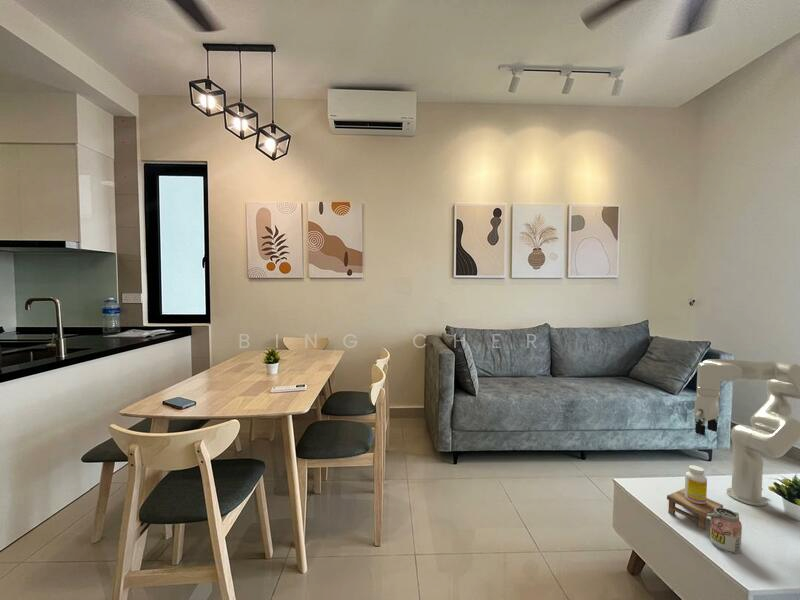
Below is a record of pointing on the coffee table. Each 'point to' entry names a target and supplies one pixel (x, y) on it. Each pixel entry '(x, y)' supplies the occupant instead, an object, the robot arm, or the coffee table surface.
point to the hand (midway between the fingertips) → (706, 432)
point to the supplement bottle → (695, 485)
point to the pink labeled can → (725, 530)
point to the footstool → (691, 507)
